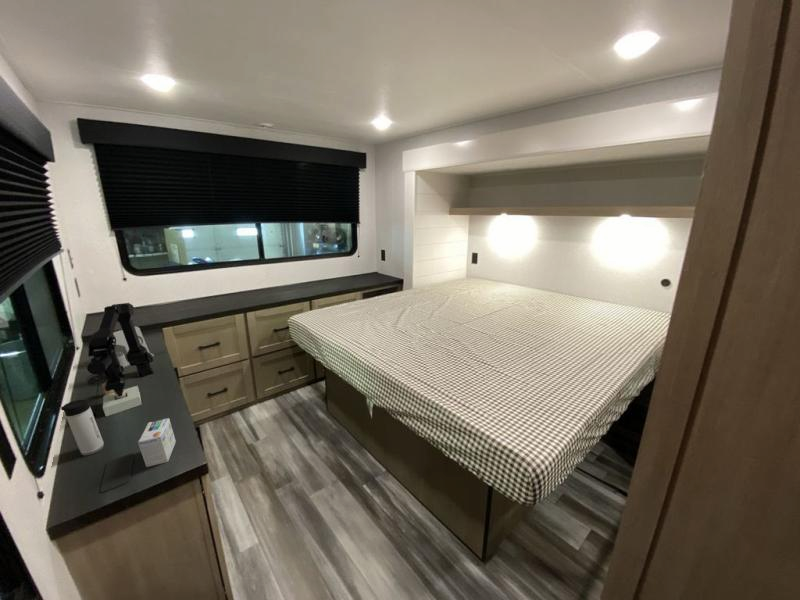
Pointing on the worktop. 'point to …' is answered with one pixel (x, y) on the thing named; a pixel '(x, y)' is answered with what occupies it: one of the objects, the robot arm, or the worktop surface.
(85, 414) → the travel mug
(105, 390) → the short dowel
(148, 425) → the light bulb box
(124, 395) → the long dowel
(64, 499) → the worktop surface
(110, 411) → the hole block
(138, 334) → the phone holder
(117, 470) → the phone
